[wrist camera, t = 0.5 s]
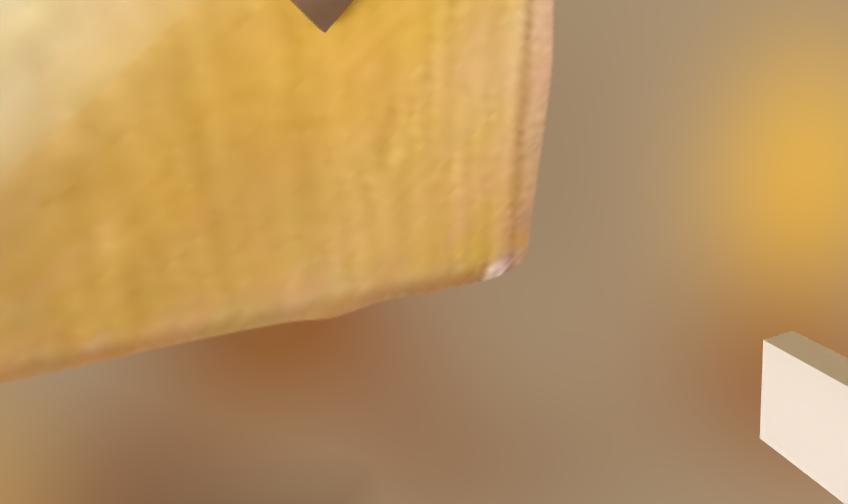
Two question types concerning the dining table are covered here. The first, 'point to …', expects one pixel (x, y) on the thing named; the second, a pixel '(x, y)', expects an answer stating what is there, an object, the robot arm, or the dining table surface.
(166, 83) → the dining table surface
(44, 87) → the dining table surface
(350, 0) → the walnut coaster board
